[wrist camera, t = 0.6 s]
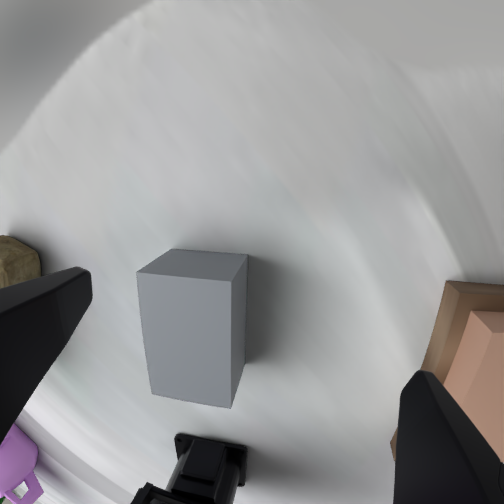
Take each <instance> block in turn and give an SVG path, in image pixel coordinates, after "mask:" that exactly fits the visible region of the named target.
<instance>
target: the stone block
mask: <svg viewBox="0 0 504 504" xmlns="http://www.w3.org/2000/svg"><path fill="white" fill-rule="evenodd" d="M38 277H41V266H40V260H39V257H38V253H37V252H36V251H35V250H33V249H31V248H30V247H28V246H26V245H24V244H23V243H21V242H20V241H18V240H16V239H14V238H12V237H9V236H5V235H1V236H0V288H4V287H7V286H10V285H14V284H17V283H20V282H24V281H27V280H31V279H34V278H38Z"/></svg>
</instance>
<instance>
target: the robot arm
mask: <svg viewBox="0 0 504 504" xmlns="http://www.w3.org/2000/svg"><path fill="white" fill-rule="evenodd" d="M92 296H93V294H92V281H91V274H90V272H89V271H88V270H86V269H83V268H81V267H73V268H70V269H66V270H62V271H59V272H55V273H52V274H48V275H45V276H41V277H38V278H34V279H31V280H27V281H24V282H20V283H17V284H14V285H10V286H7V287H4V288H0V445H1V444H2V442H3V440H4V439H5V437H6V435H7V433H8V432H9V430H10V428H11V427H12V425H13V424H14V422H15V420H16V419H17V417H18V415H19V414H20V412H21V411H22V409H23V407H24V406H25V404H26V403H27V401H28V400H29V398H30V397H31V395H32V394H33V392H34V391H35V389H36V388H37V386H38V385H39V383H40V382H41V380H42V379H43V377H44V376H45V374H46V373H47V371H48V370H49V368H50V367H51V366H52V364H53V363H54V361H55V360H56V358H57V357H58V356H59V354H60V353H61V351H62V350H63V348H64V347H65V345H66V344H67V342H68V341H69V339H70V337H71V336H72V334H73V332H74V331H75V329H76V327H77V325H78V324H79V322H80V320H81V319H82V317H83V315H84V314H85V312H86V310H87V309H88V307H89V305H90V303H91V301H92ZM174 440H175V447H176V453H177V459H178V462H177V465H176V467H175V469H174V471H173V474H172V476H171V478H170V480H169V483H168V485H167V487H166V489H165V490H163V489H161V488H158V487H156V486H153V484H151V483H148V482H147V483H146V484H145V486H144V487H143V488H139V490H138V491H137V493H136V495H135V497H134V499H133V501H132V502H131V503H130V504H233V501H234V497H235V493H236V489H237V486H239V487H242V486H244V485H245V478H246V465H247V452H248V449H247V448H246V447H245V446H241V445H235V444H229V443H223V442H217V441H212V440H207V439H202V438H197V437H192V436H188V435H183V434H176V436H175V438H174ZM500 461H501V460H500V458H499V457H498V455H497V454H496V453H495V451H494V450H493V449H492V447H491V446H490V445H489V443H488V442H487V441H486V439H485V438H484V437H483V435H482V434H481V433H480V431H479V430H478V429H477V428H476V426H475V425H474V424H473V422H472V421H471V420H470V418H469V417H468V416H467V415H466V413H465V412H464V411H463V410H462V408H461V407H460V406H459V405H458V403H457V402H456V401H455V400H454V398H453V397H452V396H451V395H450V393H449V392H448V391H447V390H446V388H445V387H444V386H443V385H442V383H441V382H440V381H439V380H438V379H437V377H436V376H435V375H434V374H433V373H432V372H430V371H425V370H418V371H417V372H416V373H415V374H414V375H413V376H412V378H411V379H410V380H409V382H408V383H407V384H406V386H405V387H404V388H403V390H402V392H401V396H400V407H399V418H398V428H397V438H396V458H395V484H394V500H393V504H504V464H503V462H500Z"/></svg>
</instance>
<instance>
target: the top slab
mask: <svg viewBox="0 0 504 504" xmlns="http://www.w3.org/2000/svg"><path fill="white" fill-rule="evenodd" d="M443 386H444V387H445V388H446V390H447V391H448V392H449V393H450V395H451V396H452V397H453V398H454V400H455V401H456V402H457V403H458V405H459V406H460V407H461V408H462V410H463V411H464V412H465V413H466V415H467V416H468V417H469V418H470V420H471V421H472V422H473V424H474V425H475V426H476V428H477V429H478V430H479V431H480V433H481V434H482V435H483V437H484V438H485V439H486V441H487V442H488V443H489V445H490V446H491V447H492V449H493V450H494V451H495V453H496V454H497V455H498V457H499V458H500V460H501V461H500V462H504V312H488V311H471V312H470V315H469V318H468V321H467V325H466V328H465V330H464V333H463V336H462V339H461V342H460V345H459V347H458V350H457V353H456V355H455V358H454V360H453V363H452V365H451V368H450V370H449V373H448V375H447V377H446V380H445V382H444V384H443Z"/></svg>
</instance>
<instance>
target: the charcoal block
mask: <svg viewBox="0 0 504 504" xmlns="http://www.w3.org/2000/svg"><path fill="white" fill-rule="evenodd" d="M247 271H248V254H234V253H221V252H207V251H193V250H179V249H170V250H169V251H167V252H166V253H164V254H163V255H161V256H160V257H158V258H157V259H155V260H154V261H152V262H151V263H149V264H148V265H146V266H145V267H143V268H142V269H140V270H139V271H137V272H136V275H137V287H138V297H139V307H140V316H141V325H142V333H143V340H144V348H145V355H146V361H147V368H148V374H149V380H150V386H151V391H152V394H154V395H158V396H163V397H168V398H172V399H177V400H182V401H187V402H193V403H198V404H204V405H210V406H216V407H223V408H229V409H231V407H232V404H233V401H234V397H235V394H236V391H237V388H238V385H239V381H240V378H241V375H242V372H243V368H244V365H245V340H246V305H247Z"/></svg>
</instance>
